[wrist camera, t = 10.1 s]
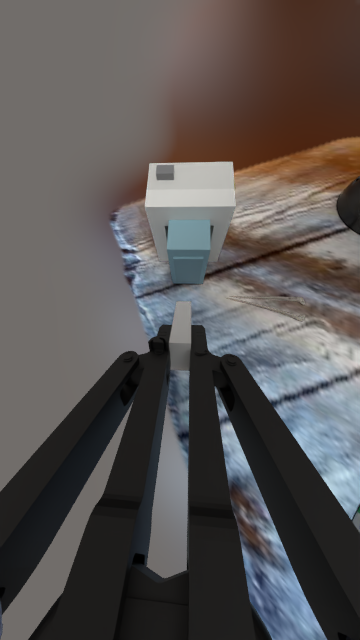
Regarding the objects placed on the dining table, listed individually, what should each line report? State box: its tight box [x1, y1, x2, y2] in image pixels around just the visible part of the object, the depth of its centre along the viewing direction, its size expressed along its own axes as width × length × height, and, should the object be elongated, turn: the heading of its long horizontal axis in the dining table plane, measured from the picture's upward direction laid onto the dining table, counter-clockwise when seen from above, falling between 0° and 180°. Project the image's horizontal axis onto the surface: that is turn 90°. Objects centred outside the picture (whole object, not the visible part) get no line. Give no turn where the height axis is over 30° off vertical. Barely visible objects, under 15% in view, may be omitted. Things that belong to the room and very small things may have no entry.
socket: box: [145, 162, 236, 262], centre depth 26 cm, size 12×8×13 cm, turn 88°
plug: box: [167, 220, 211, 284], centre depth 27 cm, size 6×8×10 cm
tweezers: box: [227, 296, 305, 321], centre depth 29 cm, size 17×5×2 cm, turn 79°
